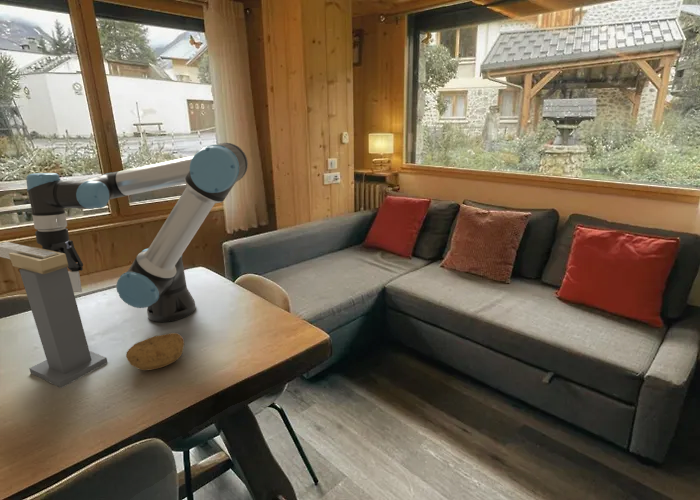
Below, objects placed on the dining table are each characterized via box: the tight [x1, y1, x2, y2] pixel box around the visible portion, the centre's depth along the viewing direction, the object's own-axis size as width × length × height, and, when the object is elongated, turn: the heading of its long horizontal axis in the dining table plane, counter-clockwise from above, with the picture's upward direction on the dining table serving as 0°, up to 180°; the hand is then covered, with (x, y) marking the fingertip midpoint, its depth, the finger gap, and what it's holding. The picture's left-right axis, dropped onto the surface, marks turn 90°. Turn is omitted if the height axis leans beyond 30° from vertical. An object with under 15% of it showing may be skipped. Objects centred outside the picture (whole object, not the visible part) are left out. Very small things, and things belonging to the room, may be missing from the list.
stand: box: [9, 246, 109, 389], centre depth 104 cm, size 14×12×32 cm
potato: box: [125, 332, 185, 371], centre depth 108 cm, size 10×14×8 cm
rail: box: [0, 241, 57, 260], centre depth 102 cm, size 23×3×3 cm, turn 63°
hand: (63, 299), depth 120 cm, fingers open, 13 cm apart
